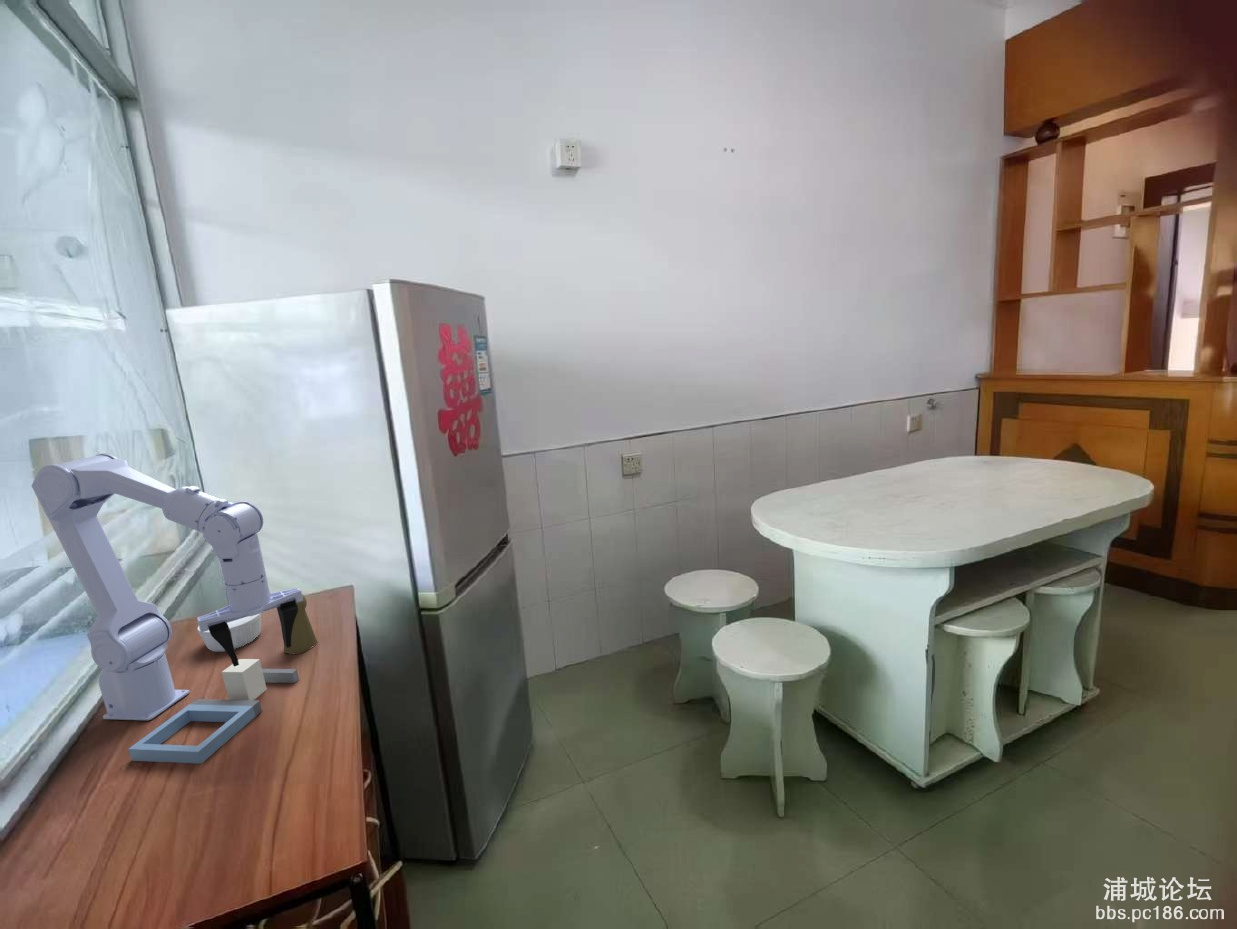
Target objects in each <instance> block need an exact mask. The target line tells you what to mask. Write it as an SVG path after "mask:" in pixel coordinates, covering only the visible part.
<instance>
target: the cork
mask: <svg viewBox="0 0 1237 929" xmlns="http://www.w3.org/2000/svg"><path fill="white" fill-rule="evenodd" d="M302 598H303V601H301V602H297V603H296V604H297V606H298V613H297V615H296V618H295V621H294V624H293V629H292V636H291V647H288V648H287V647H286V646H285V644H284V643H283V652H284V653H285V654H286V653H289V654H288V655H294V654H293V653H298V654H301V652H302V653H304V651H305V652H307V651H309V650H311V649H312V648H311V647H312V646H314V645H315V644H316V643H317V644H318V640H317V637H316V634H315V632H314V630H313V627H312V624H311V621H310V619H309V616H308V613H307V610H306V607H307V605H308V604H307V603H308V602H307V598H306V597H305V595H304V594H302ZM317 644H316V645H317ZM316 645H315V646H316ZM315 646H314V647H315ZM310 648H311V649H310ZM308 649H309V650H308ZM306 650H307V651H306Z"/></svg>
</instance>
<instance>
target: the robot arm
mask: <svg viewBox="0 0 1237 929" xmlns="http://www.w3.org/2000/svg"><path fill="white" fill-rule="evenodd" d="M31 488H32V490H33V492H34V494H35V496H36V498H37V499H38V501H39V504H40V506H41V507H42V509H43V511H44V513H45V515H46V517H47V519H48V520H49V523H50V525H51V527H52V529H53V531H54V533H55V535H56V536H57V538H58V540H59V543H60V544H61V546H62V548H63V550H64V552H65V554H66V555H67V558H68V560H69V563H70V564H71V566H72V567H73V570H74V571H75V573H76V575H77V577H78V579H79V581H80V583H81V585H82V588H83V589H84V591H85V593H86V595H87V597H88V600H89V601H90V603H91V605H92V607H93V609H94V611H95V612H96V615H97V616H96V618H95V620H94V622H93V624H92V625H91V627H90V629H89V630H88V632H87V633H86V637H87V640H88V641H89V643H90V653H91V657H92V659H93V661H94V664H96V665H97V666H98V667H99V668H100V669H101V671H100V673H99V675H98V676H99V677H98V686H99V689H100V692H101V696H102V700H103V703H104V707H105V710H106V714H104V715H102V719H103V720H121V721H123V720H124V721H150V720H153V719H155V717H157V716H159V715H160V714H161V713H163V712H164V711H166V710H167V709H168V708H170V707H171V706H173V705H174V704H175V703H177V702H179V701H180V700H181V699H182V698H184V697H185V696H187V695H188V694H189V693H190V690H189V689H175V685H174V681H173V679H172V678H173V677H172V673H171V670H170V666H169V663H168V659H167V656H166V650H167V649H168V648H169V647H168V642H169V641H170V639H171V637H172V635H173V629H172V626H171V623H170V621H169V620H168V619H167V617H165V616H164V615H162V613H161V612H160V611H159V610H158V606H157V605H156V604H155V603H151V602H147V601H142V600H139V599H138V597H137V595H136V593H135V591H134V588H133V587H132V585H131V583H130V581H129V579H128V577H127V575H126V573H125V571H124V569H123V567H122V565H121V563H120V561H119V559H118V557H117V555H116V553H115V551H114V549H113V547H112V545H111V543H110V540H109V539H108V536H107V535H106V532H105V531H104V528H103V526H102V524H101V523H100V520H99V518H98V514H99V513H100V510H101V508H102V507H103V505H104V504H105V503H106V502H107V501H108V500H109V499H111V498H112V497H113V496H114V495H115V494H116V495H119V496H121V497H124V498H127V499H131V500H133V501H137V502H141V503H144V504H146V505H149V506H152V507H156V508H159V509H161V511H162V514H163V516H164V517H165V519H166V520H168V521H171V522H174V523H176V524H179V525H181V526H183V527H186V528H188V529H191V530H194V531H196V532H199V533H201V534H202V535H203V537H204V540H206V542H207V543H208V544H209V545H210V546H211V547H212V549H213V552H214V555H215V556H216V557H217V559H218V560H219V564H220V570H221V574H222V577H223V581H224V587H225V592H226V594H227V599H228V605H226V606H224V607H221V608H219V609H216V610H214V611H211V612H210V613H207V614H206V613H205V614H204V615H200V616H197V617H196V619H197V624H198V626H199V628H200V631H201V632H204V631H208V630H209V631H210V634H211V636H212V637H213V638H214V639H215V640H216V641H217V642H218V643H219V644H220V645H221V646H222V647H223V648H224V649H225V651H224V652H226V653H227V655H228V657H229V658H230V661H231V663H232V664H233V666H237V665H239V662H238V660H239V659H238V656H237V653H236V649H234V647H233V642H232V637H231V632H230V629H229V626H228V624H227V623H228V622H231V621H235V620H238V619H241V618H244V617H248V616H254V615H257V614H260V613H261V614H262V613H264V612H266V611H269V610H274V609H276V611H277V614H278V617H279V623H280V625H281V634H282V640H283V645H284V644H285V646H286V647H287V648H288V647H291V636H292V629H293V624H294V621H295V618H296V615H297V613H298V606H297V604H296V603H297V602H301V601H303V598H302V595H303V592H302V590H301V588H299V587H295V588H290V589H285V590H282V591H275V592H271V591H270V588H269V582H268V577H267V573H266V568H265V563H264V559H263V553H262V550H261V549H262V548H261V544H260V540H259V534H258V533H259V532H260V531H261V530H262V529H263V525H264V518H263V514H262V513H261V510H260V509H259V508H258V507H256V506H255V505H254V504H252V503H250V502H249V501H247V500H245V501H244V500H241V501H237V502H232V501H230V502H229V501H228V499H224V498H218V497H216V496H213V495H210V494H208V493H206V492H204V491H201V488H200V487H199V486H196V485H191V486H181V487H179V488H174V487H171V486H169V485H167V484H165V483H163V482H161V481H159V480H156V479H154V478H153V477H152V476H149V475H146V474H144V473H143V472H140V471H138V470H136V469H133V467H132V468H131V467H130V465H129V463H128V461H127V459H123V458H119V457H117V456H115V455H113V454H110V453H98V454H95V455H94V456H90V457H89V456H88V457H84V458H80V459H75V460H70V461H66V462H61V463H57V464H49V465H44V466H42V467H41V468H40V469H39V470H38V471H37V473H36V476H35V478H34V480H33V482H32V484H31ZM270 592H271V593H270Z"/></svg>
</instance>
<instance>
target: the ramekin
mask: <svg viewBox="0 0 1237 929" xmlns="http://www.w3.org/2000/svg"><path fill="white" fill-rule="evenodd" d="M261 618H262V613H260V614H257V615H254V616H248V617H244V618H241V619H238V620H235V621H231V622H228V623H227V624H228V626H229V629H230V632H231V637H232V642H233V647H234V650H237V649H239V647H240V648H242V647H245V646H246V645H245V644H247V643H249V644H251V643H252V642H254V641H255V640H256V639H257V638H258V637H259V636H260V635H261V631H262V627H261V626H262V623H261V621H262V620H261ZM196 630H197V632H198V635H200V637H201V639H202V640H203V643H204V644H205V646H206V648H207V649H209V651H211V652H216V653H222V652H226V651H225V649H224V648H223V647H222V646H221V645H220V644H219V643H218V642H217V641H216V640H215V639H214V638H213V637H212V636H211V634H210V631H209V630H208V631H204V632H201V631H200V628H199V625H198V626H197V629H196ZM258 635H259V636H258ZM256 637H257V638H256ZM255 638H256V639H255ZM254 639H255V640H254ZM253 640H254V641H253ZM250 642H251V643H250ZM244 645H245V646H244ZM247 645H248V644H247ZM241 646H242V647H241ZM236 648H237V649H236Z"/></svg>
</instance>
